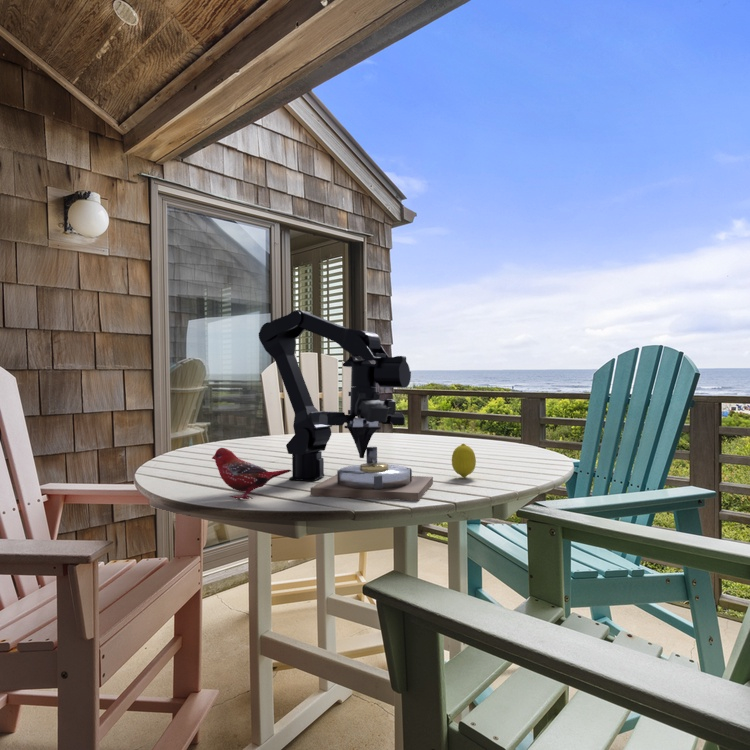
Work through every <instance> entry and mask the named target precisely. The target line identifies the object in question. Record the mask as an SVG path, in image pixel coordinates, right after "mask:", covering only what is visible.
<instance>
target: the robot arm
mask: <svg viewBox="0 0 750 750" xmlns="http://www.w3.org/2000/svg"><path fill="white" fill-rule="evenodd" d="M305 330H306V331H308V332H310V333H313V334H315V335H317V336H321V337H322V338H325V339H328V340H330V341H332V342H334V343H336V344H338V345H339V346H340V348H341V349H343V350H344V351H345V352H348V354H350V356H349V358H347V360H345V362H343V363H342V366H343V367H345V368H351V374H350V378H351V379H350V391H348V397H350V406H349V407H350V408H349V409H347V414H346V413H345V412H344V411H325V410H320V411H319V410H318V409H317V408H316V407H315V405H314V403H313V400H312V397H311V394H310V392H309V389H308V386H307V383H306V382H305V378H304V376H303V373H302V371H301V368H300V366H299V363H298V360H297V358H296V355H295V351H296V347H297V342H296V340H297V338H299V337H300V336H302V334H303V333H304V332H305ZM258 338H259V339H258V340H259V342H260V343H261V345H262V347H263V348H264V351H265V352H266V353H268V355H269V356H270V357H271V358H272V359H273V360H274V361H275V364H276V366H277V369H278V373H279V375H280V376H281V377H280V378H281V381H282V383H283V386H284V388H285V391H286V394H287V396H288V399H289V401H290V404H291V408H292V409H293V413H294V418H293V427H292V428H293V432H294V435H293V436H292V438H291V439H290V440H289V441H288V442H287V444H286V445H285V447H286V450H287V453H288V454H289V455H291V456H292V457H291V458H292V459H291V461H292V463H291V465H292V469H291V473H292V474H291V475H292V476H290V477H288V479H289V480H291V481H311V482H312V481H317V480H319V479H321V478H323V477H325V473H324V471H325V469H324V461H325V460H324V458H323V455H322V454H323V453H322V452H323V451H325V450H326V448H327V446H328V442H329V441H330V439H331V436H332V430H331V428H332V427H333V426H343V425H344V424H345V423H346V425H344V427H343V428H344V429H348V431H349V433H350V435H351V438H352V439H353V442H354V444H355V446H356V449H357V451H358V455H359V459H364V458H365V454H366V449H367V447H369V443H370V441H371V438H372V437H373V435H374V434H375V432H376V431H378V430H381V428H382V426H379V423H380V424H381V425H392V426H405V425H406V417H405V415H404V414H403V412H396V410H397V404H396V403H397V401H396V400H394V399H389V398H387V399H385V400H384V401H383V400H381V398H380V396H381V395H380V392H378V391H377V386H379V387H380V388H384V389H385V388H388V389H389V388H390V389H391V388H392V389H393V388H395V389H396V388H397V389H400V388H401V389H403V388H404V389H406V388H408V387H409V385H410V382H411V378H412V372H411V371H410V366H409V364H408V362H407V357H406V356H405V355H396V356H393V357H392V356H389V354H388V353H387V352H386V350H385V349H384V347H383V345H382V342H381V339H380V336H379V334H377V333H375V332H372V331H368V330H367V331H365V330H360V329H354V328H353V329H352V328H348V327H345V326H343V325H340V324H337V323H335V322H332V321H330V320H328V319H325V318H322V317H320V316H317V315H315V314H312V313H311V312H309V311H306V310H305V311H304V310H301V309H296V310H293V311H291V312H290V313H288V314H286V315H284V316H281V317H277V318H275V319H273V320H272V321H268V322H266V323H264V324H263V325H262V326H261V328H260V330H259V332H258ZM351 355H352V356H351ZM357 357H360V358H362V359H358V358H357ZM371 362H374V363H371ZM377 384H378V385H377ZM359 416H360V417H359Z"/></svg>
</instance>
